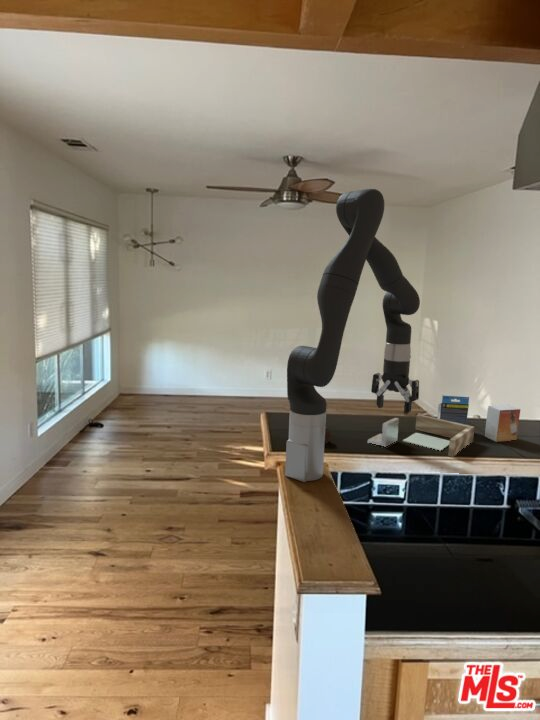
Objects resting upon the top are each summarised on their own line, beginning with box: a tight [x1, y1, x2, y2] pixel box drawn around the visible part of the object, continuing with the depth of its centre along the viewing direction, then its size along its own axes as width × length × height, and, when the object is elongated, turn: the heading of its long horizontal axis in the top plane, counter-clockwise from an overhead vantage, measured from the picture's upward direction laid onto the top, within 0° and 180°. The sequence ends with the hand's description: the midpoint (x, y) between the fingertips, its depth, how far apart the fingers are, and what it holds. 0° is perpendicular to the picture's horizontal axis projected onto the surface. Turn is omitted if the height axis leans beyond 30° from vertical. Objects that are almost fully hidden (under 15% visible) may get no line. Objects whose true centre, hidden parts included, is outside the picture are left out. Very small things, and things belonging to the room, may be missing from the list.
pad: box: [402, 432, 450, 452], centre depth 157 cm, size 10×12×1 cm
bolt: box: [325, 426, 332, 444], centre depth 160 cm, size 6×5×15 cm
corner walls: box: [414, 413, 475, 458], centre depth 157 cm, size 17×18×5 cm
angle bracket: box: [367, 417, 400, 448], centre depth 156 cm, size 8×6×8 cm
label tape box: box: [436, 394, 470, 425], centre depth 169 cm, size 9×4×12 cm, turn 85°
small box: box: [484, 404, 521, 443], centre depth 162 cm, size 8×6×10 cm
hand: (393, 410), depth 153 cm, fingers open, 8 cm apart
